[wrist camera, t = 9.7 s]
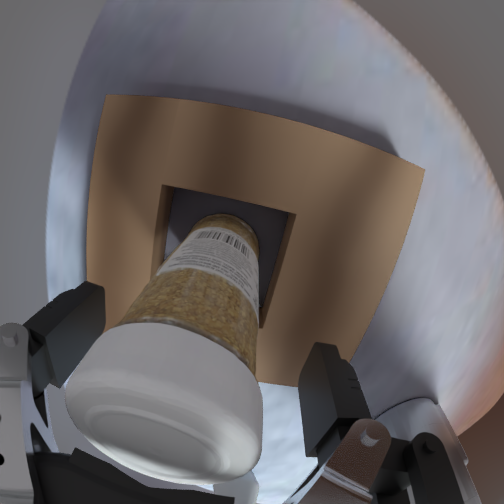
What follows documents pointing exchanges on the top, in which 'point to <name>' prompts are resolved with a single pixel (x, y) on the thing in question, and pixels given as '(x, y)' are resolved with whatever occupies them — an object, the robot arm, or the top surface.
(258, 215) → the top surface
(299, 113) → the top surface
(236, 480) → the salt shaker
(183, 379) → the sprinkles bottle
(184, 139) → the holder board
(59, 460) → the robot arm
